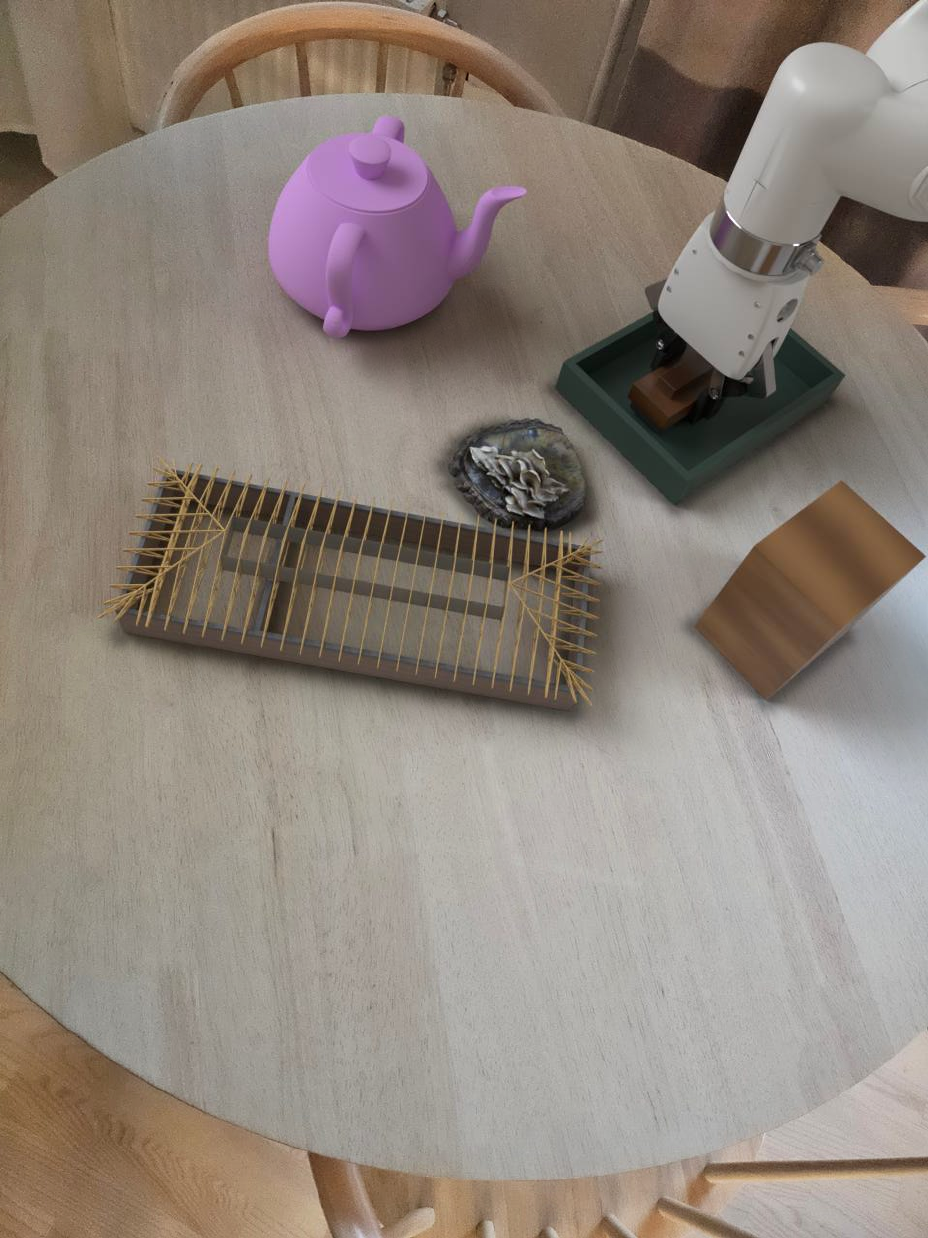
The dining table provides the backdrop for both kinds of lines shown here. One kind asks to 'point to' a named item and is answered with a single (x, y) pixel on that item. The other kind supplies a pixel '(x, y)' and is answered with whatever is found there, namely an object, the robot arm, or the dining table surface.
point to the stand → (806, 587)
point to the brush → (671, 390)
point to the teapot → (373, 233)
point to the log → (520, 475)
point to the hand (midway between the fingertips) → (680, 396)
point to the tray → (686, 449)
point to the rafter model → (354, 583)
